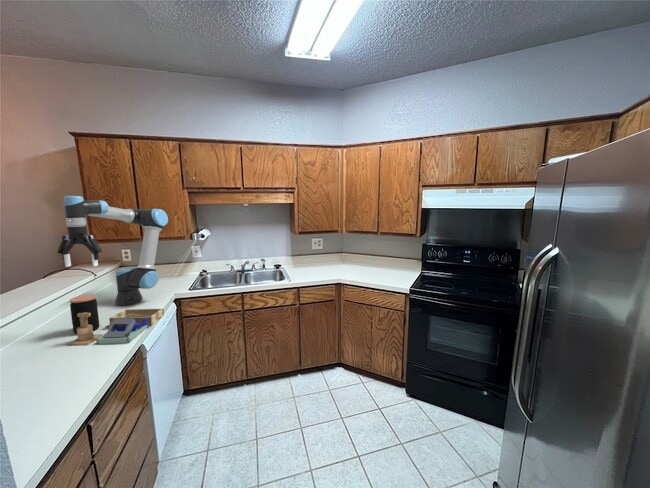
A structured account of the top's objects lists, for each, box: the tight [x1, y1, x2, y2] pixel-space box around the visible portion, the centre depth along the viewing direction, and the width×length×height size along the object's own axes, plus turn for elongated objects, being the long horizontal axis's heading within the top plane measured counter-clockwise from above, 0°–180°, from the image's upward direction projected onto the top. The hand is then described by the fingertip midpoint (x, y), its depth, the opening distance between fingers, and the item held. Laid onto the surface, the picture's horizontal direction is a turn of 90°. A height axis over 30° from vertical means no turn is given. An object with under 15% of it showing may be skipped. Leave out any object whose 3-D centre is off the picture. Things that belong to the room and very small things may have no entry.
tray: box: [95, 325, 149, 345], centre depth 140 cm, size 16×15×2 cm
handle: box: [68, 312, 103, 346], centre depth 134 cm, size 9×9×14 cm
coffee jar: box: [69, 294, 100, 335], centre depth 145 cm, size 11×11×18 cm
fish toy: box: [115, 318, 150, 331], centre depth 144 cm, size 15×8×7 cm, turn 117°
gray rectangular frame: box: [104, 317, 136, 338], centre depth 137 cm, size 9×12×3 cm
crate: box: [109, 308, 165, 327], centre depth 155 cm, size 13×22×6 cm, turn 93°
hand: (81, 266), depth 145 cm, fingers open, 13 cm apart
